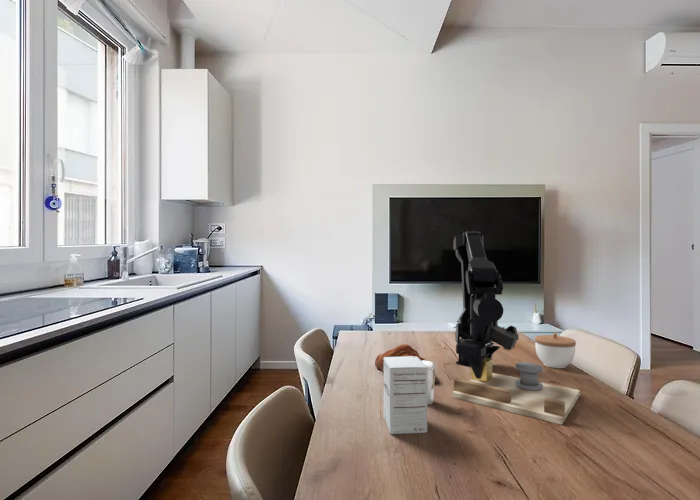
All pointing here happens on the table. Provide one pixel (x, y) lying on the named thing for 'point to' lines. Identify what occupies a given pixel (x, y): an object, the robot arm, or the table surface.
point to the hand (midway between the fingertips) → (481, 376)
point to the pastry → (397, 355)
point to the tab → (484, 371)
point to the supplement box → (405, 395)
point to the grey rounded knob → (529, 376)
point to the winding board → (518, 397)
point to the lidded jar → (555, 350)
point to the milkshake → (430, 380)
